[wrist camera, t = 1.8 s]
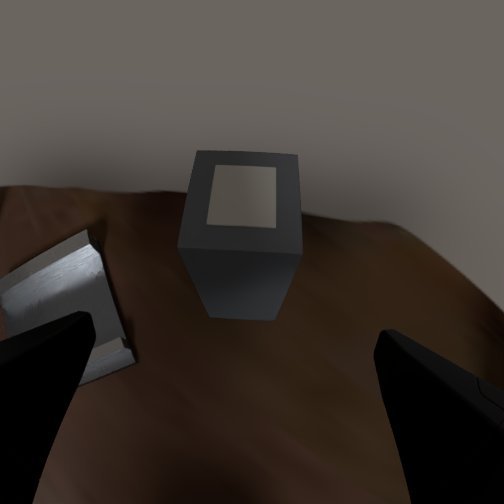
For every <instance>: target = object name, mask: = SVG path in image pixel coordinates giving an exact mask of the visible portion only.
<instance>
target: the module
mask: <svg viewBox="0 0 504 504" xmlns="http://www.w3.org/2000/svg"><path fill="white" fill-rule="evenodd" d="M177 249H178V251H179V253H180V255H181V258H182V260H183V262H184V264H185V266H186V269H187V271H188V273H189V275H190V277H191V279H192V281H193V284H194V286H195V288H196V290H197V292H198V294H199V296H200V298H201V300H202V302H203V304H204V306H205V309H206V311H207V313H208V315H209V317H213V318H228V319H245V320H266V321H275V318H276V316H277V314H278V312H279V309H280V307H281V305H282V302H283V300H284V298H285V295H286V293H287V291H288V288H289V286H290V284H291V281H292V279H293V277H294V274H295V272H296V269H297V267H298V264H299V262H300V260H301V257H302V255H303V244H302V220H301V200H300V185H299V169H298V156H297V155H293V154H280V153H263V152H244V151H197V153H196V157H195V161H194V166H193V170H192V175H191V179H190V184H189V188H188V193H187V197H186V202H185V207H184V212H183V217H182V222H181V228H180V233H179V239H178V244H177Z"/></svg>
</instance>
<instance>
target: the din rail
mask: <svg viewBox="0 0 504 504" xmlns="http://www.w3.org/2000/svg"><path fill="white" fill-rule="evenodd" d="M0 307H2V308H3V310H4V318H5V325H6V331H7V337H8V338H10V337H13V336H15V335H18V334H20V333H23V332H25V331H28V330H30V329H33V328H35V327H38V326H41V325H43V324H46V323H48V322H51V321H53V320H56V319H58V318H61V317H64V316H66V315H69V314H71V313H74V312H76V311H85V312H89V313H90V314H91V316H92V319H93V323H94V327H95V331H96V341H95V344H94V347H93V349H92V352H91V355H90V357H89V360H88V363H87V365H86V368H85V371H84V374H83V376H82V378H81V381H80V383H79V385H78V387H80V386H83V385H85V384H88V383H90V382H93V381H95V380H98V379H100V378H103V377H105V376H108V375H110V374H113V373H115V372H118V371H120V370H122V369H125V368H127V367H130V366H132V365H134V364H137V363H138V361H137V358H136V356H135V354H134V351H133V348H132V346H131V343H130V341H129V338H128V335H127V333H126V330H125V327H124V324H123V322H122V319H121V316H120V313H119V310H118V307H117V304H116V301H115V298H114V295H113V291H112V288H111V285H110V282H109V278H108V275H107V271H106V268H105V264H104V260H103V257H102V253H101V249H100V245H99V241H98V240H97V239H95V238H94V237H93V236H92V235H91V234H90V232H89V231H88V230H87V229H85V230H84V231H82V232H80V233H78V234H76V235H74V236H72V237H70V238H69V239H67V240H65V241H63V242H61V243H59V244H58V245H56V246H54V247H52V248H51V249H49V250H47V251H45V252H44V253H42V254H40V255H39V256H37V257H35V258H33V259H32V260H30V261H28V262H27V263H25V264H24V265H22V266H20V267H19V268H17V269H15V270H14V271H12V272H11V273H9V274H8V275H6V276H4V277H3V278H1V279H0ZM78 387H77V388H78Z"/></svg>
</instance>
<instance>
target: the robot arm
mask: <svg viewBox="0 0 504 504" xmlns="http://www.w3.org/2000/svg"><path fill="white" fill-rule="evenodd" d="M95 341H96V331H95V327H94V323H93V319H92V316H91V314H90V313H89V312H85V311H76V312H74V313H71V314H69V315H66V316H64V317H61V318H58V319H56V320H53V321H51V322H48V323H46V324H43V325H41V326H38V327H35V328H33V329H30V330H28V331H25V332H23V333H20V334H18V335H15V336H13V337H10V338H8V339H5V340H3V341H0V504H32V503H33V500H34V496H35V493H36V490H37V487H38V484H39V479H40V477H41V475H42V472H43V469H44V466H45V463H46V461H47V458H48V455H49V453H50V450H51V447H52V445H53V442H54V440H55V437H56V435H57V432H58V430H59V428H60V425H61V423H62V420H63V418H64V416H65V414H66V411H67V409H68V407H69V405H70V402H71V400H72V398H73V396H74V394H75V391H76V389H77V387H78V385H79V383H80V381H81V378H82V376H83V374H84V371H85V368H86V365H87V363H88V360H89V357H90V355H91V352H92V349H93V347H94V344H95ZM374 362H375V366H376V371H377V375H378V380H379V385H380V390H381V394H382V399H383V402H384V405H385V408H386V412H387V415H388V418H389V421H390V424H391V428H392V431H393V435H394V438H395V441H396V445H397V448H398V452H399V456H400V459H401V463H402V467H403V471H404V475H405V479H406V483H407V487H408V491H409V495H410V500H411V504H504V391H503V390H501V389H499V388H497V387H495V386H493V385H491V384H490V383H488V382H486V381H484V380H482V379H481V378H479V377H476V376H475V375H474V374H472V373H470V372H468V371H466V370H465V369H463V368H461V367H459V366H458V365H456V364H454V363H452V362H451V361H449V360H447V359H445V358H444V357H442V356H440V355H438V354H437V353H435V352H433V351H431V350H429V349H428V348H426V347H424V346H422V345H421V344H419V343H417V342H415V341H414V340H412V339H410V338H408V337H406V336H405V335H403V334H401V333H399V332H398V331H396V330H393V329H390V330H382V331H381V332H380V334H379V338H378V341H377V344H376V347H375V350H374Z"/></svg>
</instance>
